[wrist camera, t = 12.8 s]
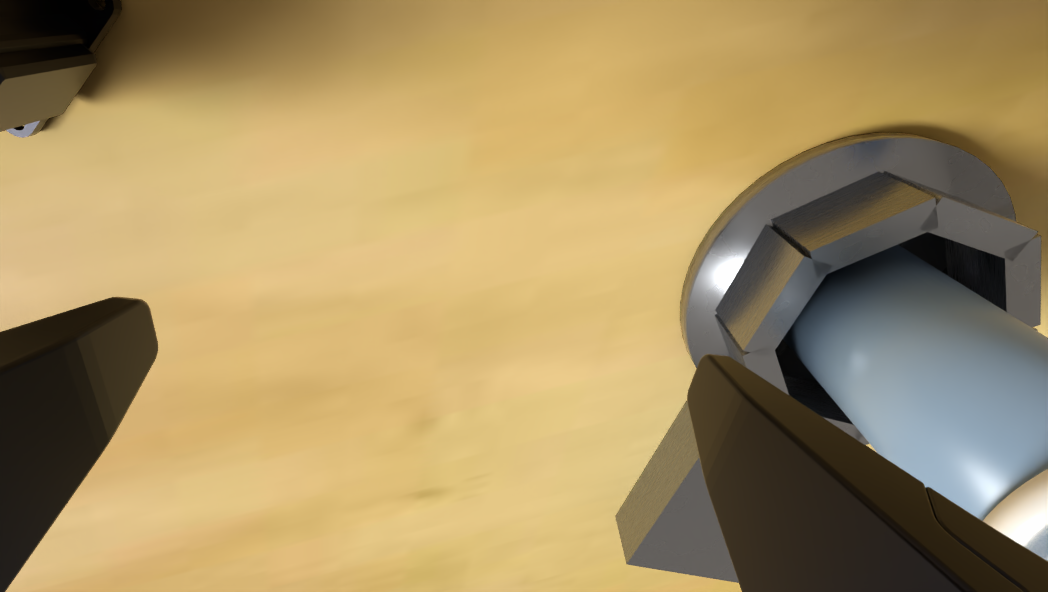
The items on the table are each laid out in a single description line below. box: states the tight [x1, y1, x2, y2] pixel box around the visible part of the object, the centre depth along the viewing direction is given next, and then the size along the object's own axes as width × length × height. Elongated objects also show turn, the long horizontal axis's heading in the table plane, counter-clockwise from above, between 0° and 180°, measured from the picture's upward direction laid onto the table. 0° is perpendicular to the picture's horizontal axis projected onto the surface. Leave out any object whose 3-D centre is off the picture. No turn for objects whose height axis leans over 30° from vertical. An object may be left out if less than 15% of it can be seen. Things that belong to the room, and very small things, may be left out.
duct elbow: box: [783, 245, 1048, 561], centre depth 18 cm, size 10×6×12 cm, turn 82°
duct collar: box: [616, 133, 1041, 583], centre depth 24 cm, size 24×14×4 cm, turn 162°
